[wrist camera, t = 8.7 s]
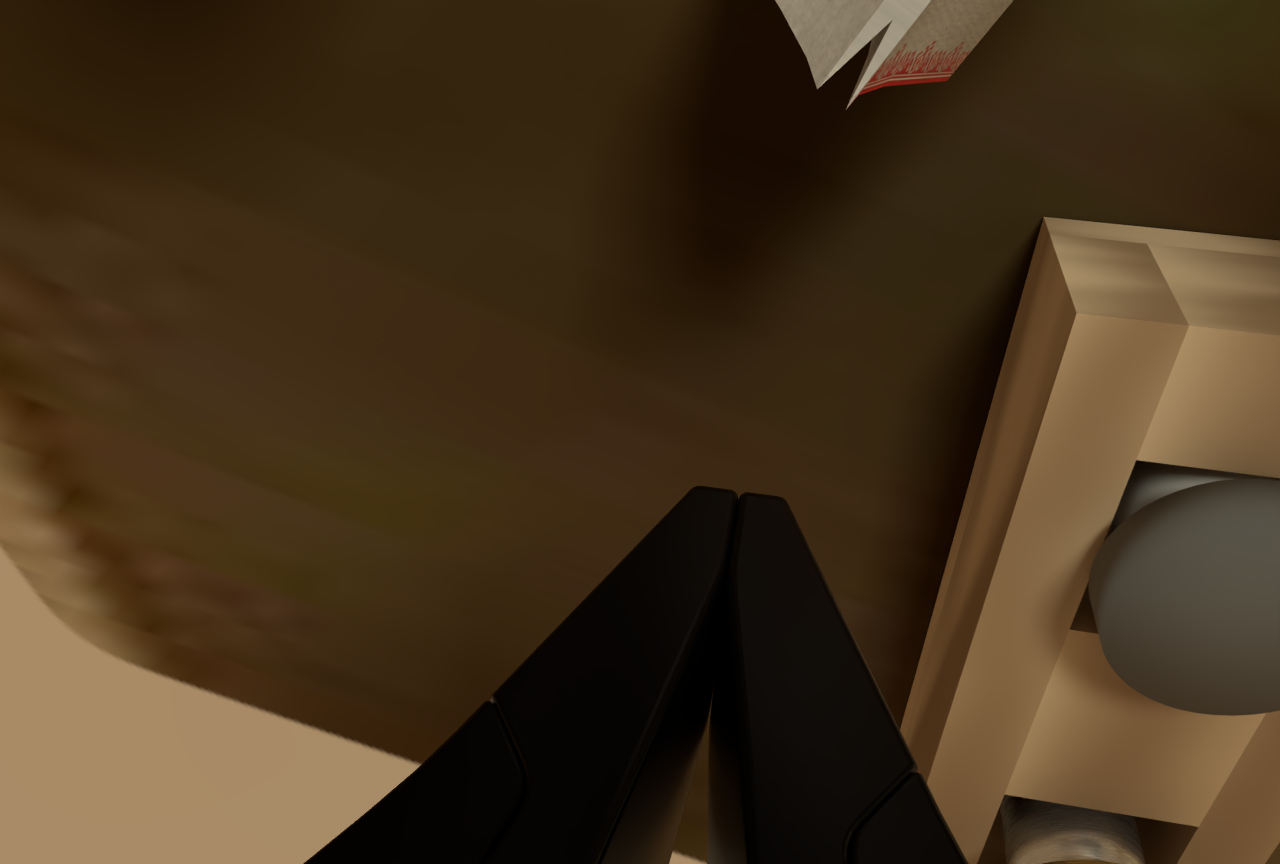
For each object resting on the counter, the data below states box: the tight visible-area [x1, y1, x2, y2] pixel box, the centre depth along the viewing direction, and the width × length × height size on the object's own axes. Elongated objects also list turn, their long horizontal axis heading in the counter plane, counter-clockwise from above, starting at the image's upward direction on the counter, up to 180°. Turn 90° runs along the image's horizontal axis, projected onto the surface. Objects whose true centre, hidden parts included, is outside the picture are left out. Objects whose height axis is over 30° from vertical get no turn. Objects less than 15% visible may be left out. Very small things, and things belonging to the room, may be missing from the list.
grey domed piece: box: [1088, 460, 1280, 716], centre depth 20 cm, size 5×5×4 cm
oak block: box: [900, 217, 1280, 864], centre depth 24 cm, size 8×20×4 cm, turn 178°
